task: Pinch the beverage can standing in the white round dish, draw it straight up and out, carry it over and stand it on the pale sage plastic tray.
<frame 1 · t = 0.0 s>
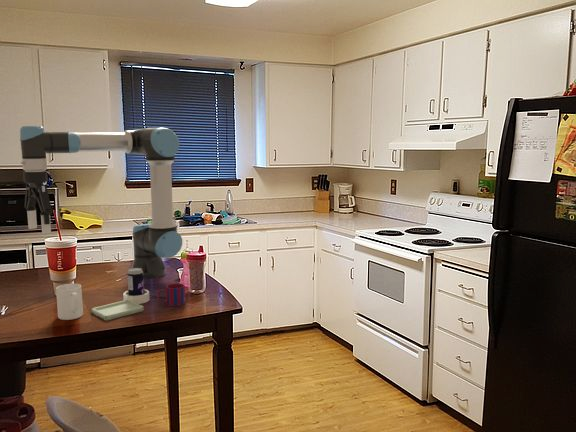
hand: (39, 230, 181), 28 cm above the table, fingers open, 13 cm apart
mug: (72, 318, 174), on the table
cup: (171, 304, 188), on the table
tray: (117, 311, 180), on the table
white round dish: (136, 300, 192), on the table
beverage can: (136, 300, 192), resting in white round dish
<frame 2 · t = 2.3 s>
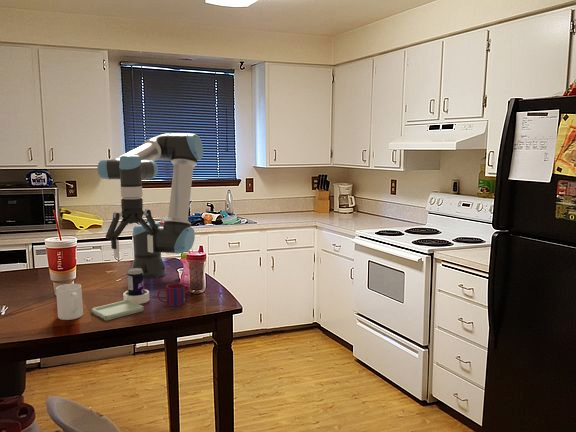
hand: (134, 254, 189), 18 cm above the table, fingers open, 13 cm apart
nothing on the table moved.
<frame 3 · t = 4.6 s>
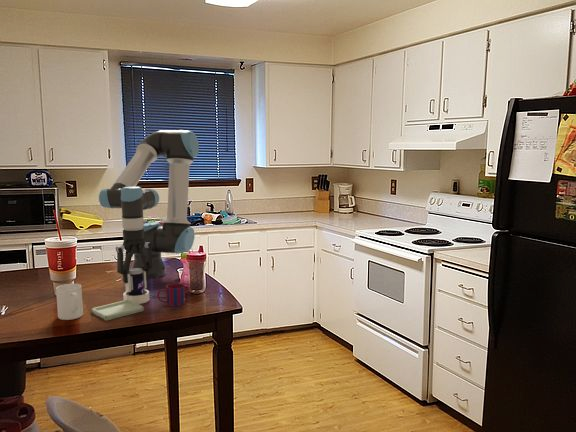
hand: (136, 289, 191), 4 cm above the table, fingers closed on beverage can, 6 cm apart
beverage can: (136, 300, 192), resting in white round dish, touching gripper
everything else where it was.
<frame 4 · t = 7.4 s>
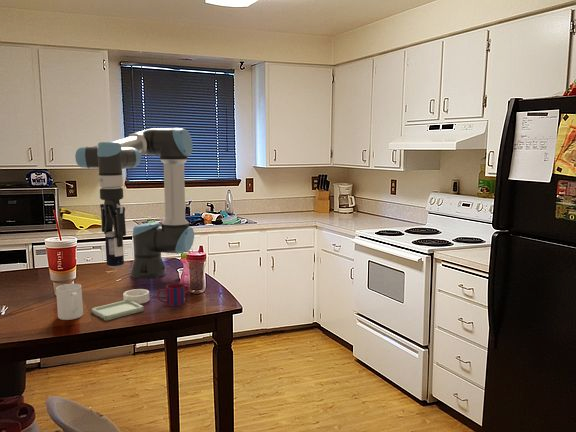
hand: (114, 254, 176), 21 cm above the table, fingers closed on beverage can, 6 cm apart
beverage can: (115, 266, 177), point 16 cm above the table, touching gripper
everything else where it was.
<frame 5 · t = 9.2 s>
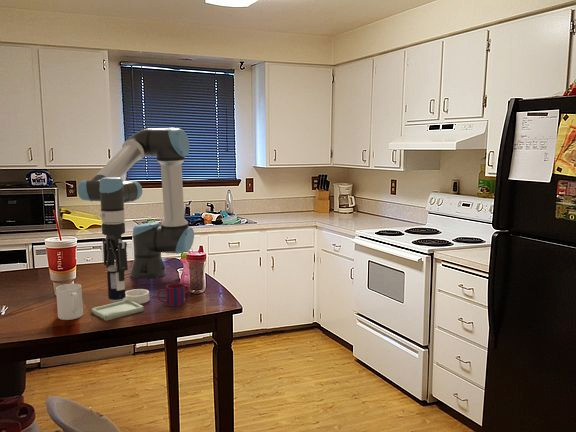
hand: (116, 287, 178), 9 cm above the table, fingers closed on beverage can, 6 cm apart
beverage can: (117, 300, 179), point 4 cm above the table, touching gripper
everything else where it was.
when the fingers open (7 cm above the table, at t = 10.5 s): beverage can drops 1 cm, resting on tray.
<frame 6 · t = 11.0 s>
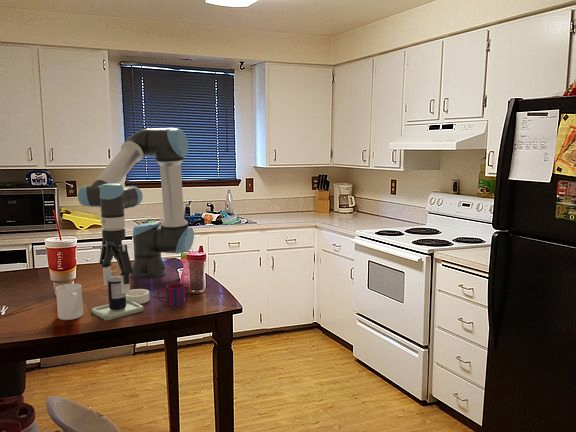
hand: (116, 288, 178), 8 cm above the table, fingers open, 13 cm apart
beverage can: (118, 310, 180), point 1 cm above the table, touching tray
everything else where it was.
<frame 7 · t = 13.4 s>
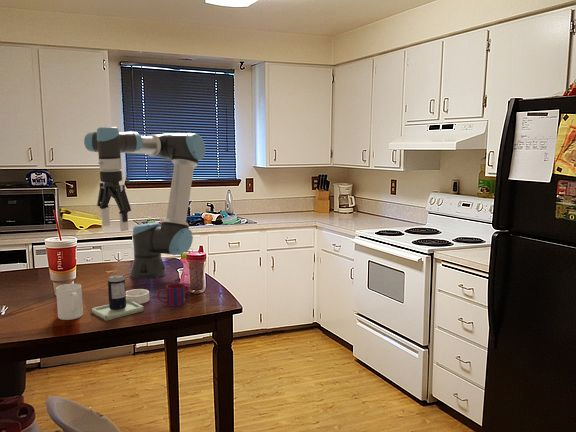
hand: (115, 228, 187), 28 cm above the table, fingers open, 13 cm apart
nothing on the table moved.
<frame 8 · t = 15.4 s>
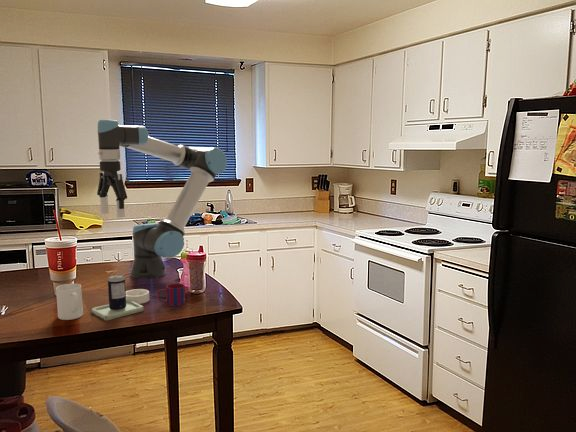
hand: (112, 215, 199), 31 cm above the table, fingers open, 13 cm apart
nothing on the table moved.
at the end: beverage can 0.1 cm from the tray (horizontally); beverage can touching tray; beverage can tilted 0° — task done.
